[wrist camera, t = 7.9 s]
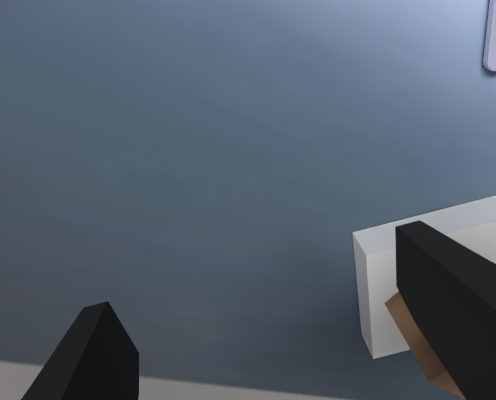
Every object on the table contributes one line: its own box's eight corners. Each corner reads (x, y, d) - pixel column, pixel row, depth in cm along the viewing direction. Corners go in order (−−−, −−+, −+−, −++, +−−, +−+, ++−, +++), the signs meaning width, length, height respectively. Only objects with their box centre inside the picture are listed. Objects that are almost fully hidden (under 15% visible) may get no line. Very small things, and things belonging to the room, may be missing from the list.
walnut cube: (453, 244, 21) (520, 317, 17) (501, 280, 23) (572, 353, 19) (384, 303, 23) (429, 382, 19) (435, 332, 25) (486, 409, 21)
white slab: (508, 192, 22) (534, 211, 21) (489, 300, 27) (509, 324, 25) (352, 232, 22) (366, 255, 21) (361, 334, 27) (373, 359, 25)
